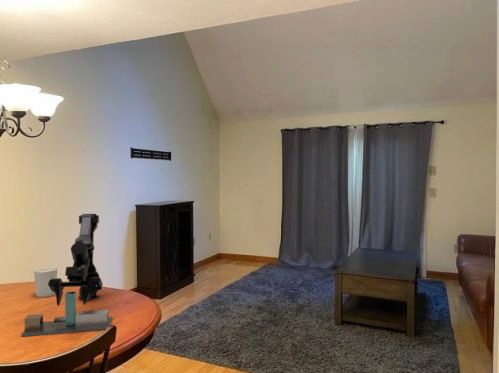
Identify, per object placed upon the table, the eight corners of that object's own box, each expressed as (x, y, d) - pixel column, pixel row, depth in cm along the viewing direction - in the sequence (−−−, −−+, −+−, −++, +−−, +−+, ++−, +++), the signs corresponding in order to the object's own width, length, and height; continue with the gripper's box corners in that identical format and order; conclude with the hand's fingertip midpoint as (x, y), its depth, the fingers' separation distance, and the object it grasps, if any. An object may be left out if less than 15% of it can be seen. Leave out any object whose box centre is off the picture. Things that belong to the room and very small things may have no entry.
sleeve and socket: (112, 319, 147) (112, 306, 147) (108, 329, 138) (108, 315, 137) (31, 325, 141) (31, 312, 141) (21, 336, 131) (21, 322, 131)
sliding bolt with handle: (107, 319, 144) (106, 289, 143) (105, 322, 141) (105, 292, 140) (56, 323, 140) (55, 292, 139) (53, 326, 137) (53, 295, 136)
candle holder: (62, 292, 180) (62, 267, 180) (45, 298, 171) (44, 272, 170) (46, 290, 183) (46, 266, 183) (29, 296, 174) (28, 270, 173)
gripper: (49, 257, 143) (37, 295, 132) (100, 256, 145) (92, 293, 135) (57, 273, 151) (46, 309, 140) (105, 271, 153) (98, 307, 143)
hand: (70, 304), depth 139 cm, fingers open, 9 cm apart
